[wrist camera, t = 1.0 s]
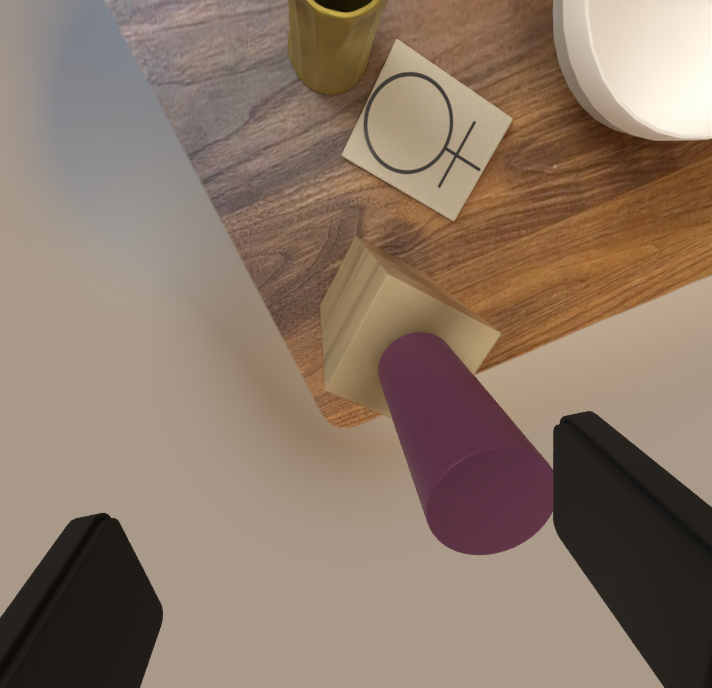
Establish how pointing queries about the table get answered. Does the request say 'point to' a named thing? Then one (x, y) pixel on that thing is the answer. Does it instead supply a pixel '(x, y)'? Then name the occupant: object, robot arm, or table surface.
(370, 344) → the stand
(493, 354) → the table surface
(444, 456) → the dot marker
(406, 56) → the sketch card
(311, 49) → the vase
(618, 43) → the bowl
